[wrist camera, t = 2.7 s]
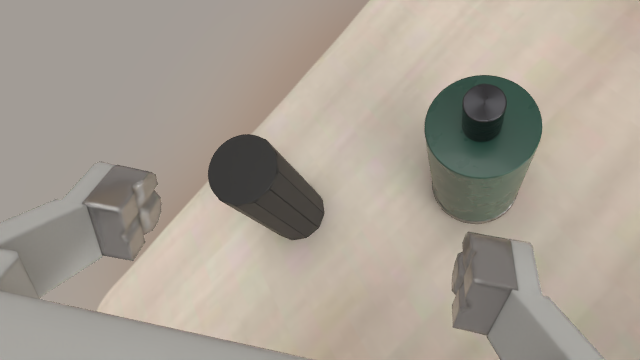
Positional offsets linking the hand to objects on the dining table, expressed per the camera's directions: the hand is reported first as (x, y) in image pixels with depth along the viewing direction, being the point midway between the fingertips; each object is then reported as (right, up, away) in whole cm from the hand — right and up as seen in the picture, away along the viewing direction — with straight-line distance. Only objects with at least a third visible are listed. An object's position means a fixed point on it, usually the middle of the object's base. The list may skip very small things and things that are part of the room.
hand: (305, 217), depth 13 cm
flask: (+15, +1, +33) cm, 37 cm away
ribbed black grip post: (-2, -2, +37) cm, 37 cm away
